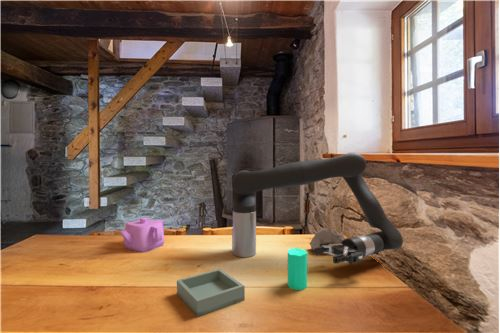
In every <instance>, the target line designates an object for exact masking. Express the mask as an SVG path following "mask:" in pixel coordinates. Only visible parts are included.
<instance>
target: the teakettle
mask: <svg viewBox="0 0 500 333" xmlns="http://www.w3.org/2000/svg"><path fill="white" fill-rule="evenodd" d="M124 227H125V228H124V229H122V230H121V231H119V233H120V235H121V236H122V238H123V246H124V247H125V249H129V250H130V251H135V252H140V253H146V252H149V251H152V250H156V249H157V248H160V247H163V246H164V243H165V234H164V232H165V229H164V220H163V219H156V220H155V219H149V218H148V217H140V218H139V219H138V220H134V221H126V222H125V225H124Z"/></svg>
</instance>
